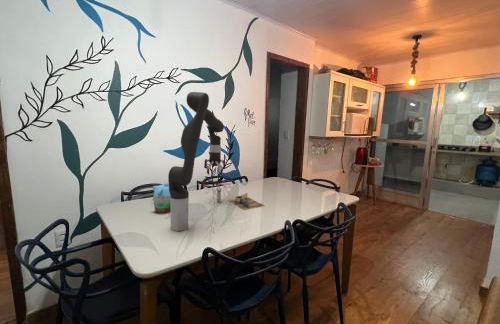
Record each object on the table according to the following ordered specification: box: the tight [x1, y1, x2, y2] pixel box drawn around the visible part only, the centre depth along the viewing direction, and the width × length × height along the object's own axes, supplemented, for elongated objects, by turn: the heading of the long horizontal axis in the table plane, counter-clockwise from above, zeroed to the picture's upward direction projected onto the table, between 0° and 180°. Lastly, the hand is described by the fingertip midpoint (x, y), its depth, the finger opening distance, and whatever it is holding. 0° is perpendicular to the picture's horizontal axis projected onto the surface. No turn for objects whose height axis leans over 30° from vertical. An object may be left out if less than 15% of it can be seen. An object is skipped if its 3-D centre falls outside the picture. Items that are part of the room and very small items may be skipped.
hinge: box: [234, 192, 250, 208], centre depth 173 cm, size 18×14×4 cm
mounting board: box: [227, 196, 266, 211], centre depth 173 cm, size 22×18×1 cm
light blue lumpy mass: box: [152, 182, 170, 197], centre depth 171 cm, size 18×16×14 cm
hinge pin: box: [215, 187, 223, 204], centre depth 171 cm, size 4×4×11 cm
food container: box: [152, 195, 170, 214], centre depth 151 cm, size 12×6×10 cm, turn 105°
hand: (214, 174), depth 169 cm, fingers open, 8 cm apart
